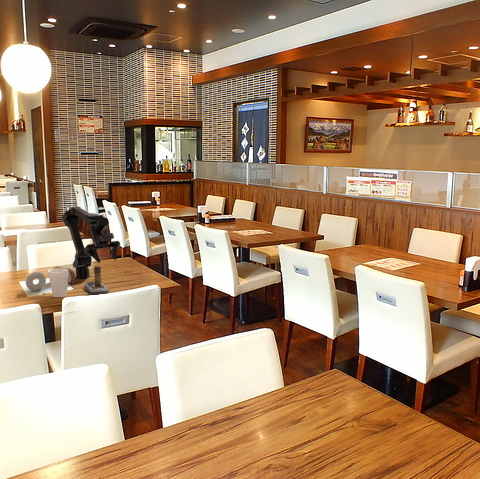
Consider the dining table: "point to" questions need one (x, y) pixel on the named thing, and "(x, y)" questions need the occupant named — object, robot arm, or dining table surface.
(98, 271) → the slide handle
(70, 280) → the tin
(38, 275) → the donut
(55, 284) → the foam cup
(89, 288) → the rail base
